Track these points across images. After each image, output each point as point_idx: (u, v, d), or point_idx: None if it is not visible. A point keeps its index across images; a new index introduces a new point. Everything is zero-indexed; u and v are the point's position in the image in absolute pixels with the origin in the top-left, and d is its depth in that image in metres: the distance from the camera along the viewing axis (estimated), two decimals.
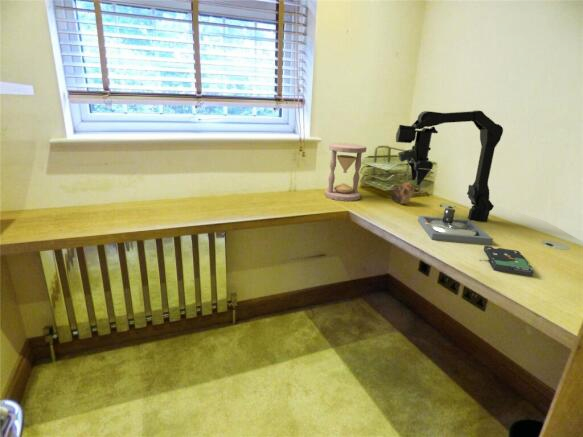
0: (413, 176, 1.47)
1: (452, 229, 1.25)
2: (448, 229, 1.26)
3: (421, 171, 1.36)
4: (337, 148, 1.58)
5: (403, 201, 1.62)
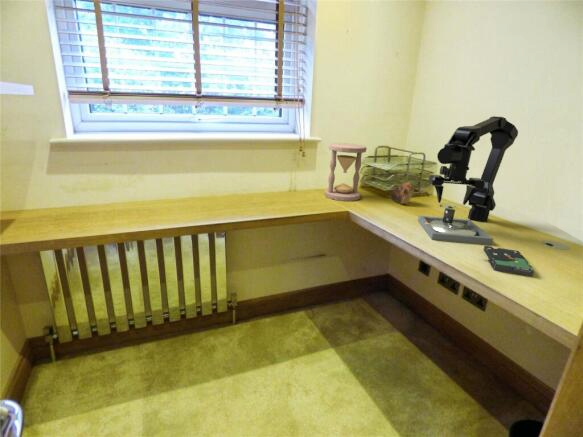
0: (464, 200, 1.31)
1: (452, 229, 1.25)
2: (448, 229, 1.26)
3: None
4: (337, 148, 1.58)
5: (403, 201, 1.62)
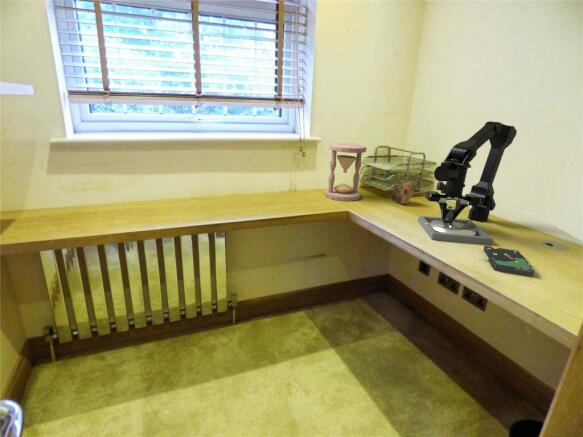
0: None
1: (452, 229, 1.25)
2: (448, 229, 1.26)
3: None
4: (337, 148, 1.58)
5: (403, 201, 1.62)
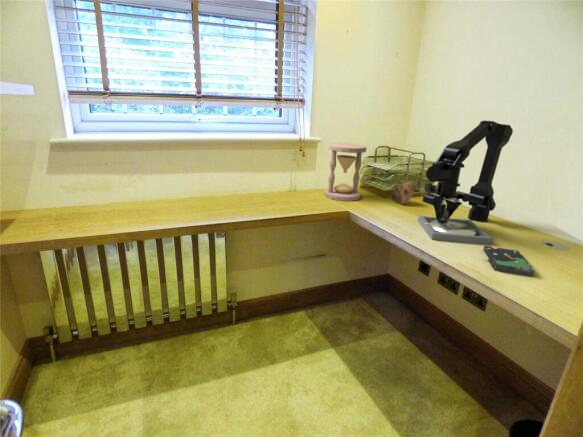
0: None
1: (456, 230, 1.25)
2: (452, 230, 1.25)
3: (438, 206, 1.30)
4: (337, 148, 1.58)
5: (403, 201, 1.62)
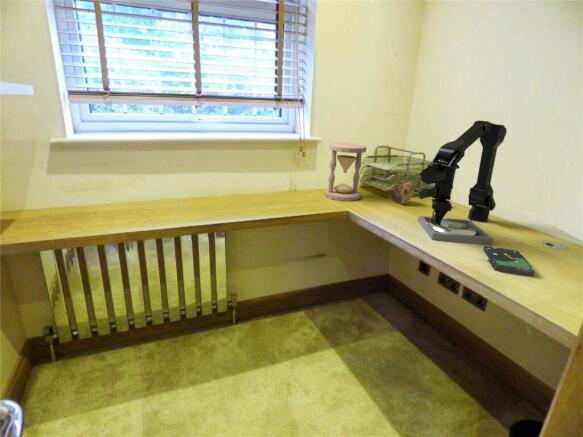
0: None
1: (462, 230, 1.26)
2: (460, 230, 1.25)
3: (440, 210, 1.26)
4: (337, 148, 1.58)
5: (403, 201, 1.62)
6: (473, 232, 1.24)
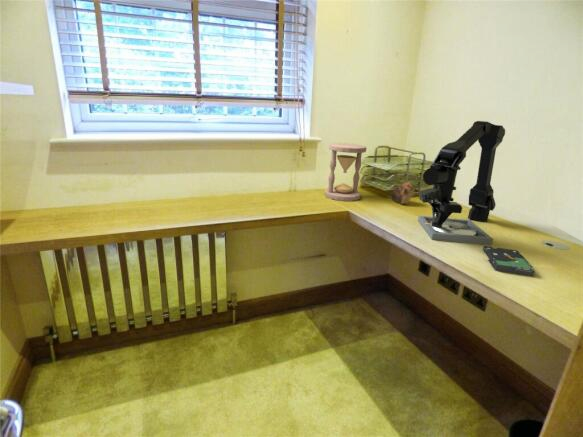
0: None
1: (463, 228, 1.27)
2: (463, 229, 1.26)
3: (444, 212, 1.23)
4: (337, 148, 1.58)
5: (403, 201, 1.62)
6: (473, 229, 1.28)
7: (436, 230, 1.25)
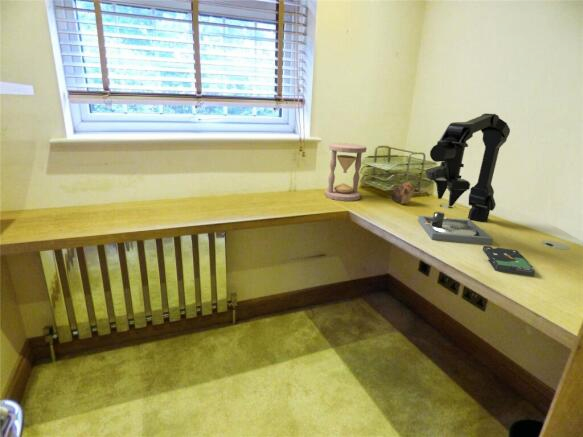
0: (440, 195, 1.31)
1: (463, 228, 1.27)
2: (463, 229, 1.26)
3: (455, 191, 1.20)
4: (337, 148, 1.58)
5: (403, 201, 1.62)
6: (473, 229, 1.28)
7: (436, 230, 1.25)
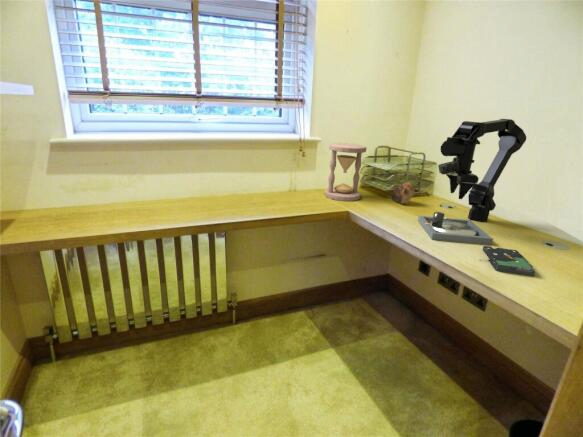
0: (452, 189, 1.39)
1: (463, 228, 1.27)
2: (463, 229, 1.26)
3: (464, 185, 1.28)
4: (337, 148, 1.58)
5: (403, 201, 1.62)
6: (473, 229, 1.28)
7: (436, 230, 1.25)
